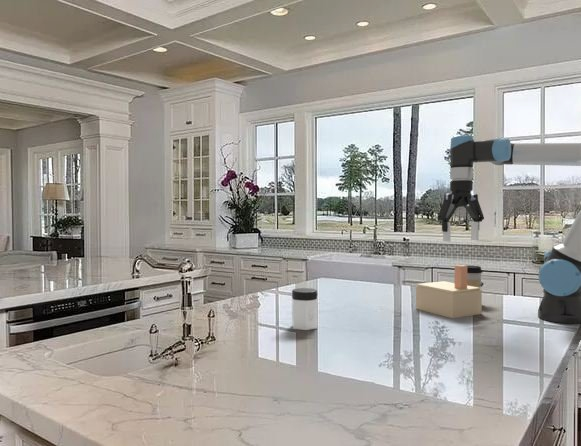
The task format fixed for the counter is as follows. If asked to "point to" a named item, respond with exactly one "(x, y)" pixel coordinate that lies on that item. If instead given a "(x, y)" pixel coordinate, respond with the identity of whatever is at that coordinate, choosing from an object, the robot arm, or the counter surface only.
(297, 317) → the jar
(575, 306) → the robot arm
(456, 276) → the lid flap
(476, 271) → the coffee cup
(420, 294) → the carton
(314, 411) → the counter surface
